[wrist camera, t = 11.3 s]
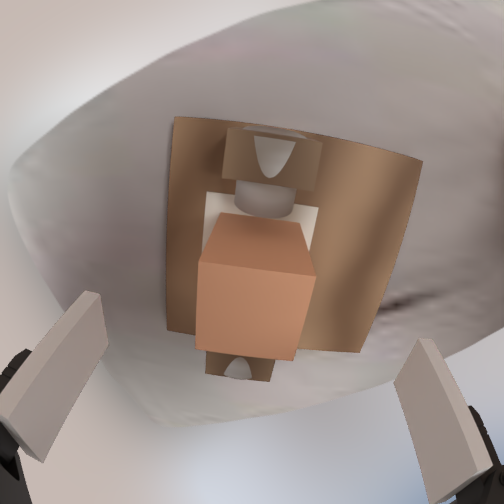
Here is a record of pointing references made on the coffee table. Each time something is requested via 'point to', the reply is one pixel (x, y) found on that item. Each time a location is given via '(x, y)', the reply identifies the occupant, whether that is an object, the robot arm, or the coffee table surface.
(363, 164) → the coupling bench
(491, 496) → the robot arm
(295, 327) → the block
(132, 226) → the coffee table surface
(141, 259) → the coffee table surface
